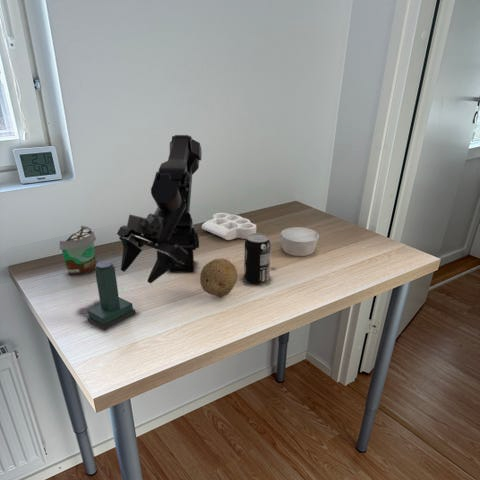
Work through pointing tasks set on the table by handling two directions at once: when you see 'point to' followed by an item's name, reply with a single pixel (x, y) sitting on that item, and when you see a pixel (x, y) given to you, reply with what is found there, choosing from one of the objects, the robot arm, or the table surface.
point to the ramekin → (299, 241)
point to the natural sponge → (218, 277)
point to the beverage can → (257, 258)
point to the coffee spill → (85, 310)
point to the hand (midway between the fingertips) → (135, 276)
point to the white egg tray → (229, 226)
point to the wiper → (108, 299)
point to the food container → (79, 251)
